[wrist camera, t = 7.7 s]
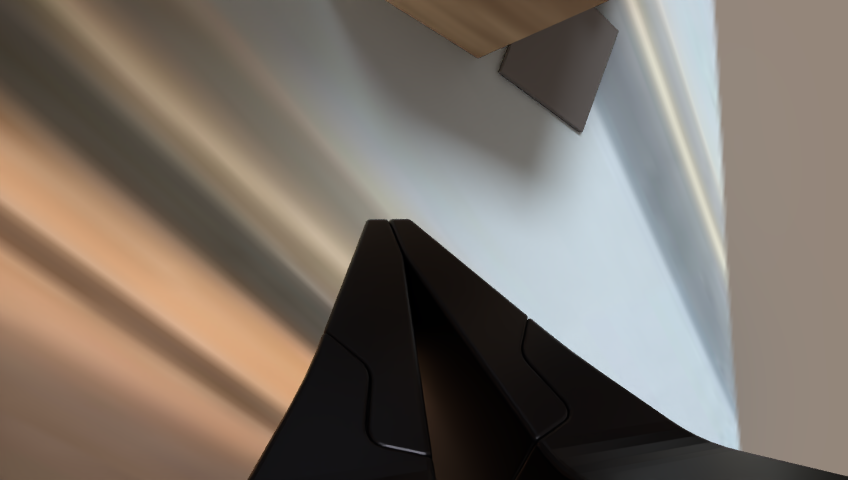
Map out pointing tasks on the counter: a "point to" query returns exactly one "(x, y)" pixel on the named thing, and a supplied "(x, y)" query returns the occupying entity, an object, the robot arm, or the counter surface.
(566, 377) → the robot arm
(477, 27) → the oak block
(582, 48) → the plate
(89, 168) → the counter surface
